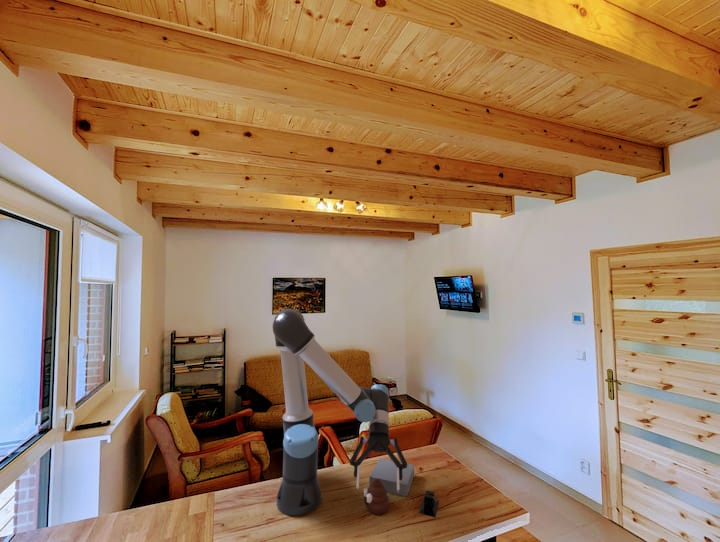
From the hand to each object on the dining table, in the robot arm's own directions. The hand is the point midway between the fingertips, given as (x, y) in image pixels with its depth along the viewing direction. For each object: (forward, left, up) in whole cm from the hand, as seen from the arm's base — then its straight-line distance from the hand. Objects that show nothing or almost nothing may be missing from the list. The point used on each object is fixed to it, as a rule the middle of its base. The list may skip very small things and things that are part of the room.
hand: (377, 489), depth 111 cm
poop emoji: (-1, +1, -6) cm, 6 cm away
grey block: (+1, +16, -6) cm, 17 cm away
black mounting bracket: (+16, +7, -6) cm, 19 cm away
